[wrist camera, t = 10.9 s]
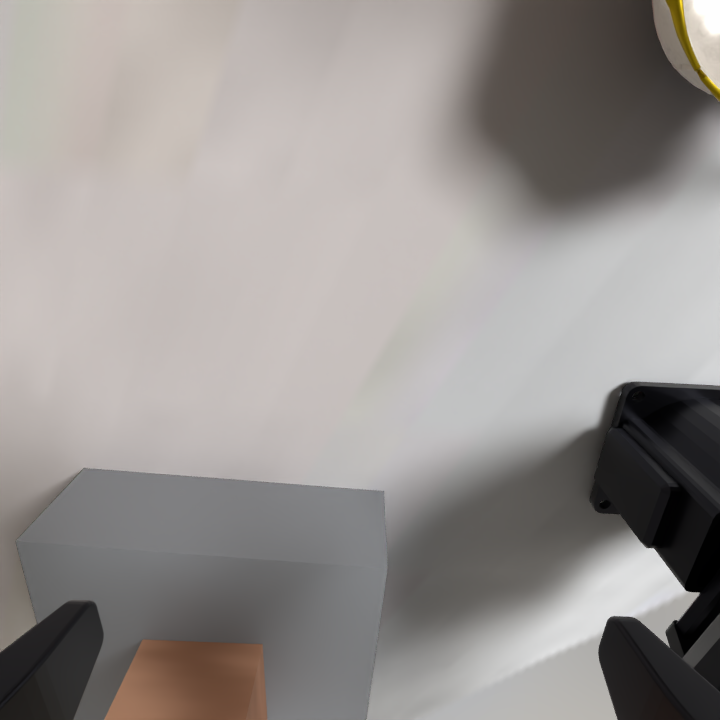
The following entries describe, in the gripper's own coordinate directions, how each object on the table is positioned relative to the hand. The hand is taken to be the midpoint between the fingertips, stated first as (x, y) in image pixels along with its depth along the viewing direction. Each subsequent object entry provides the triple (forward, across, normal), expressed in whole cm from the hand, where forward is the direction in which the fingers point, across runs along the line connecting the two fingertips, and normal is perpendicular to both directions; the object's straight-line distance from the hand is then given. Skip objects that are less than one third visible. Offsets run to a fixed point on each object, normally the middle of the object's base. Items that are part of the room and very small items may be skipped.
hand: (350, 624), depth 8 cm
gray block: (+12, +6, +13) cm, 19 cm away
